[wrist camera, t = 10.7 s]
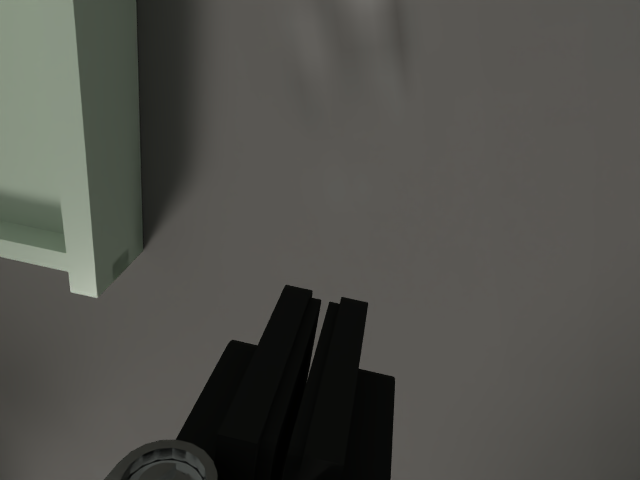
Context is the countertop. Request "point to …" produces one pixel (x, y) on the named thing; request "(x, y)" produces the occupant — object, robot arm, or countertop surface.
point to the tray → (70, 138)
